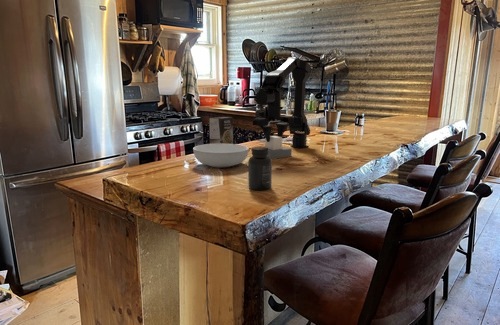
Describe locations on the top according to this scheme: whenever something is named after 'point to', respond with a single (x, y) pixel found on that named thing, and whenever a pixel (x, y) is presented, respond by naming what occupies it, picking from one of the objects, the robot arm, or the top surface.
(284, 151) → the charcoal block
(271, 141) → the cream cube
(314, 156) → the top surface
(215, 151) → the serving bowl
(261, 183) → the supplement bottle
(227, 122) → the coffee box
